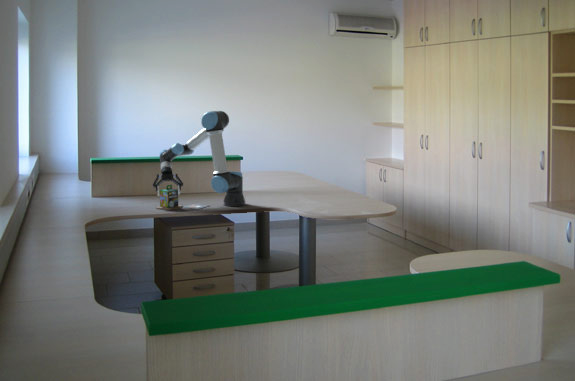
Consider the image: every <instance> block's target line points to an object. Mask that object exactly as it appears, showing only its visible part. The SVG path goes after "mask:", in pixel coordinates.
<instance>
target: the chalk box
mask: <svg viewBox="0 0 575 381" xmlns="http://www.w3.org/2000/svg"><path fill="white" fill-rule="evenodd" d="M172 187H173V184H167V185H166V188H163V189H159V206H160V207H166V208H170V207H176V206H178V205H179V194H178V188H172Z"/></svg>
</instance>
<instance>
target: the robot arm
mask: <svg viewBox="0 0 575 381" xmlns="http://www.w3.org/2000/svg"><path fill="white" fill-rule="evenodd" d="M229 123H230V117H229V115H228V113H227V112H225V111H222V110H212V111H207V112H205V113H203V115H202V117H201V126H202V128H203V129H201V130H200V131H198V132H197V134H195V135H193V137H192V138H190V139H189V140H188V141H187V142H185V143H183V144H181V143H179V142H177V143H174V144H173V145H172V146H171V147H169V148H168V149H163V150H160V152H159V161H160V162H159V163H160V172H161V174H159V173H158V174H156V178H155V180H154V182H153V184H152V187H153V188H155V192H157V196H158V197H160V192H159V190H160V186H161V185H162V184H163V183H164V182H170V181H171V183H173V184H174V185H175V186H177V189H178V196H180V195H181V191H182V187H183V186H184V182H183V181H182V179H180V177H179V175H178V174H177V173H175V174H173V166H172V161H173V160H174V159H176V158H177V157H183V156H190V155H193V153H194V151H195V150H196V149H198V148H199V147H200V146H201V145H202V144H203V143H205V142H206V141H207V140H209V143H210V149H211V157H212V163H213V169H214V170H213V173H212V178H211V181H210V185H211V186H210V187H211V189H213V191H214V192H216V193H219V194H222V193H223V194H225V195H224V198H223V206H226V207H242V206H246V199H245V196H244V191H243V188H244V187H243V182H244V181H243V180H244V179H243V178H244V177H243V173H242V172H241V171H231V170H229V169H228V164H227V159H226V151H225V146H224V139H223V132H224V131H225V130H224V129H225V128H227V126H228V125H229ZM160 178H161V179H160Z"/></svg>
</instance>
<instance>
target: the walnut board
mask: <svg viewBox="0 0 575 381" xmlns="http://www.w3.org/2000/svg"><path fill="white" fill-rule="evenodd" d="M181 207H184V205H183V204H182V205H181V204H180V205H179V204H178V206H176V207H170V208H166V207H160V205H159V206H155V209H156V210H164V211H168V210H169V211H174V210H178V209H182V208H181Z"/></svg>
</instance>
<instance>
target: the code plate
mask: <svg viewBox="0 0 575 381" xmlns="http://www.w3.org/2000/svg"><path fill="white" fill-rule="evenodd" d="M210 206H211V205H210V204H209V205H207V204H197V203H196V204H195V203H192V204H188V205H183V207H181V208H180V209H188V208H190V209H191V210H201V209H204V208H208V207H210ZM190 209H189V210H190Z"/></svg>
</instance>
